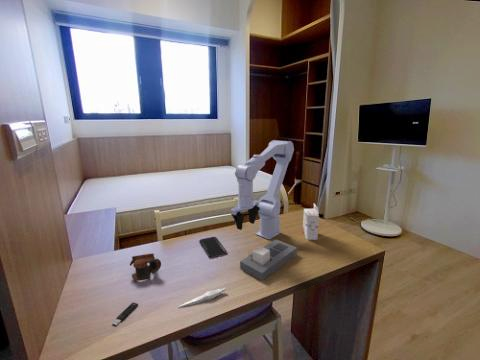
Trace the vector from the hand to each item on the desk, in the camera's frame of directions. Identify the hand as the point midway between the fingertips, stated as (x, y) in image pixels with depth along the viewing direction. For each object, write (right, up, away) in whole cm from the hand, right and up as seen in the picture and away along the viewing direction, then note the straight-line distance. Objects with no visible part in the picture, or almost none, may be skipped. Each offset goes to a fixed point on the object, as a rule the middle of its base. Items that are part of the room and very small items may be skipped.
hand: (245, 225), depth 101 cm
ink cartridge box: (+30, -7, +11) cm, 32 cm away
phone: (-14, -10, +2) cm, 17 cm away
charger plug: (+5, -12, -12) cm, 18 cm away
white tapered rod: (-14, -17, -27) cm, 35 cm away
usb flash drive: (-34, -19, -33) cm, 51 cm away
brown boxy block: (-35, -14, -15) cm, 41 cm away
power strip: (+9, -12, -8) cm, 17 cm away
